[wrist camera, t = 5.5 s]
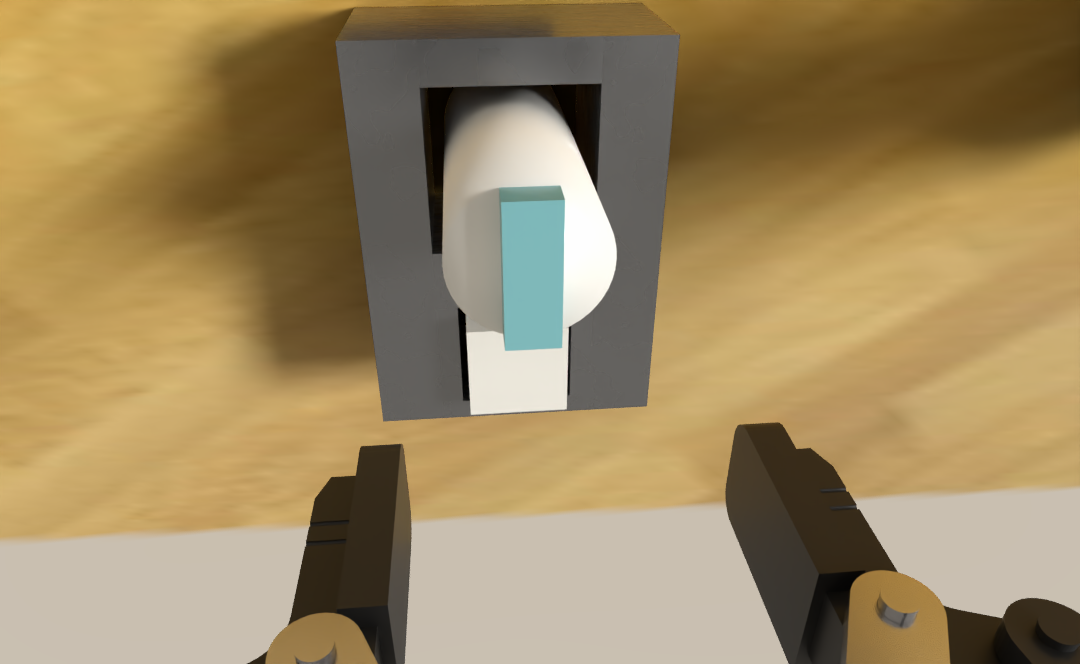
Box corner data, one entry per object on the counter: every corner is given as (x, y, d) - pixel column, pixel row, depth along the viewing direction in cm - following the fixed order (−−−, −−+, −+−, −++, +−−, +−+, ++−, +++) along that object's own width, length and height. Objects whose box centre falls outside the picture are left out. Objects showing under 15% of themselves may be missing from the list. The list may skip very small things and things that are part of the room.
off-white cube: (464, 270, 34) (466, 332, 29) (553, 266, 34) (568, 327, 30) (468, 346, 36) (470, 414, 31) (552, 342, 36) (566, 409, 32)
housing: (354, 7, 30) (335, 40, 25) (641, 3, 31) (679, 34, 26) (392, 343, 38) (383, 421, 33) (620, 332, 39) (646, 406, 34)
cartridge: (440, 63, 31) (436, 197, 20) (561, 60, 32) (629, 190, 20) (448, 179, 34) (447, 360, 22) (559, 175, 34) (618, 351, 23)
